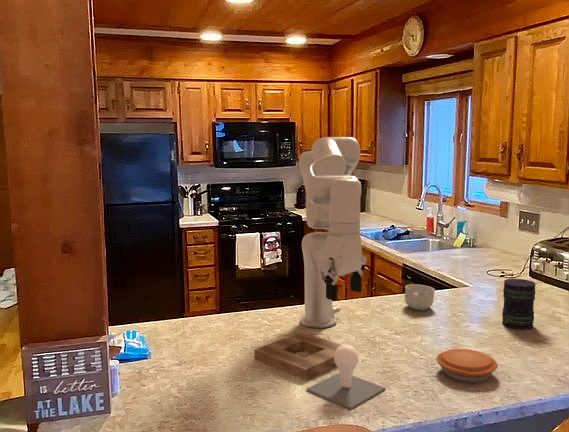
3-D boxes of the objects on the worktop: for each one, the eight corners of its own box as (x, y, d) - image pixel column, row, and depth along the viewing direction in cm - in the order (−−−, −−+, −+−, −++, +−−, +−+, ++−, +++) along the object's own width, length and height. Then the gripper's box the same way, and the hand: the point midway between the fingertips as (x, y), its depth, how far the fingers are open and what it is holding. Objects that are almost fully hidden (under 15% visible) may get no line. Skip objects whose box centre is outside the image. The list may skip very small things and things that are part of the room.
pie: (429, 362, 148) (430, 345, 148) (484, 362, 148) (485, 345, 147) (444, 386, 133) (445, 368, 132) (506, 386, 133) (507, 368, 132)
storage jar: (525, 332, 171) (527, 287, 169) (496, 325, 178) (498, 282, 176) (538, 325, 177) (541, 282, 175) (510, 318, 185) (512, 277, 183)
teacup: (411, 302, 205) (411, 282, 204) (438, 306, 199) (439, 286, 198) (396, 311, 194) (396, 290, 193) (424, 316, 188) (425, 294, 187)
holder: (301, 341, 165) (301, 331, 165) (352, 358, 151) (352, 348, 151) (254, 359, 151) (254, 349, 151) (305, 380, 137) (305, 369, 137)
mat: (341, 373, 141) (341, 371, 141) (385, 389, 131) (385, 387, 131) (306, 390, 131) (306, 388, 131) (350, 409, 122) (351, 407, 122)
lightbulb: (344, 380, 136) (344, 339, 135) (363, 387, 132) (363, 345, 130) (328, 387, 132) (328, 345, 130) (348, 395, 127) (348, 352, 126)
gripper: (353, 222, 138) (353, 285, 141) (309, 231, 126) (310, 299, 129) (377, 225, 133) (376, 290, 136) (333, 235, 121) (333, 306, 124)
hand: (344, 295), depth 132 cm, fingers open, 9 cm apart
